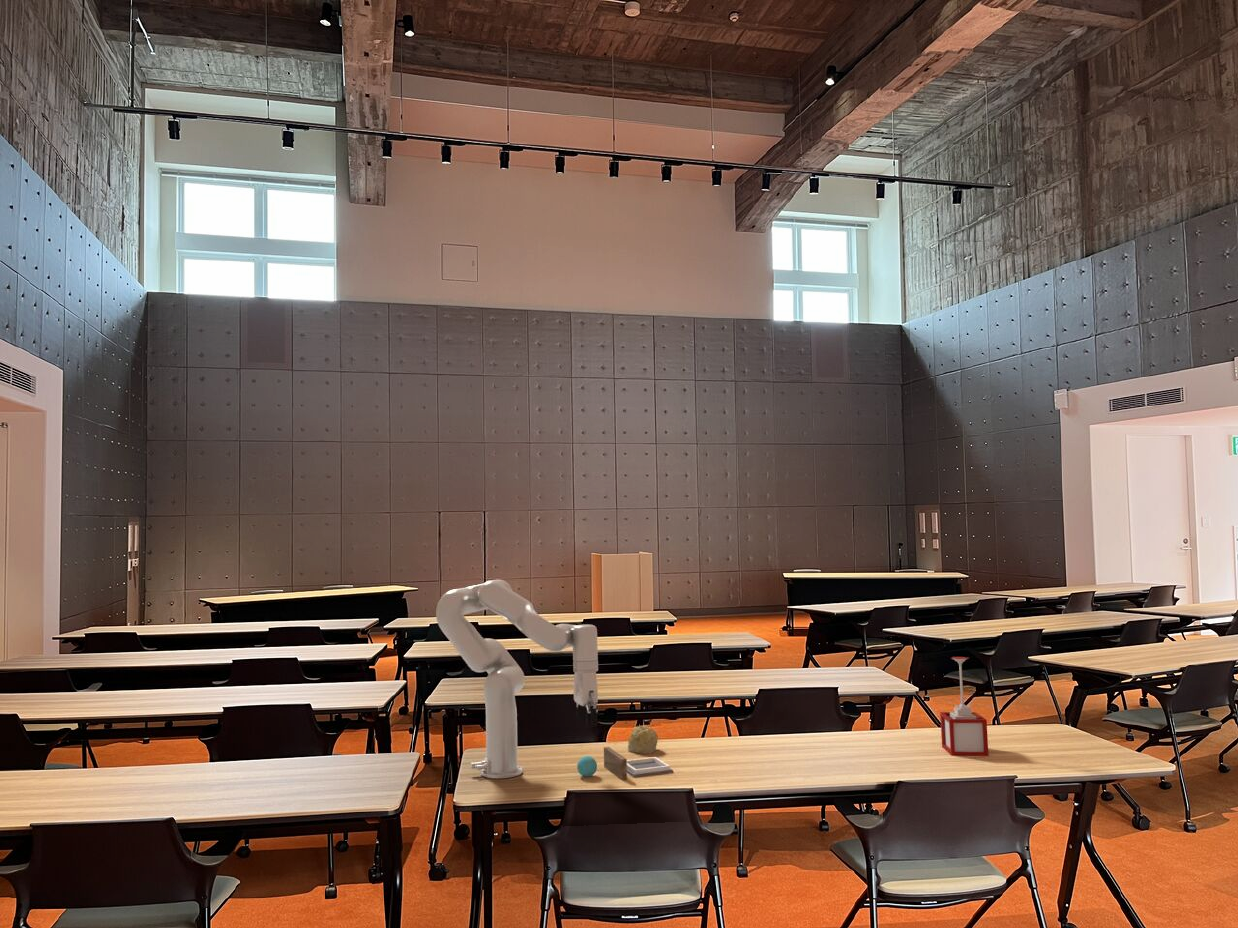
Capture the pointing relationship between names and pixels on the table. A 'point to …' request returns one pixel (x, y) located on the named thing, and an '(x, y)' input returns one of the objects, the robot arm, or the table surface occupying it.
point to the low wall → (615, 763)
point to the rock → (642, 740)
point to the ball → (587, 766)
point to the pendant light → (963, 728)
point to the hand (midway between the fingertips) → (587, 723)
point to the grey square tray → (647, 767)
